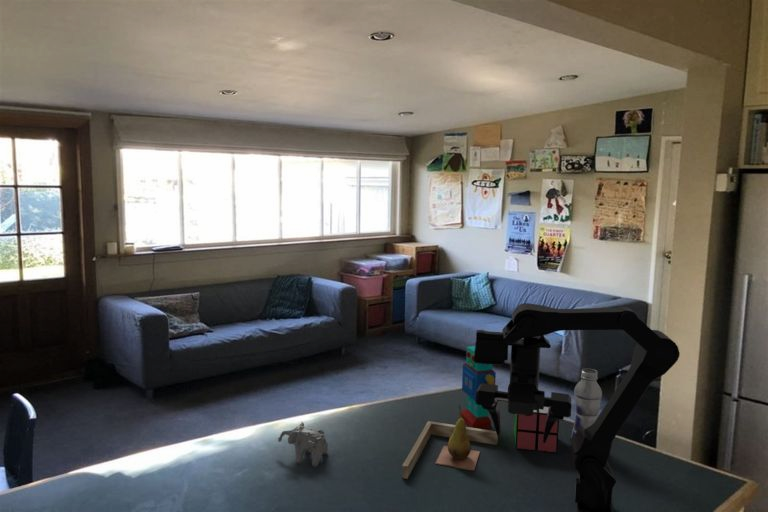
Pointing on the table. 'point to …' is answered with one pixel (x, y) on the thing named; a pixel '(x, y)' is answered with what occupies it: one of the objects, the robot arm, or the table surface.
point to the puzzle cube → (535, 432)
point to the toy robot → (475, 390)
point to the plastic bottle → (586, 400)
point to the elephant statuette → (307, 443)
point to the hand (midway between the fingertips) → (521, 438)
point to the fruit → (459, 440)
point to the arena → (445, 456)
